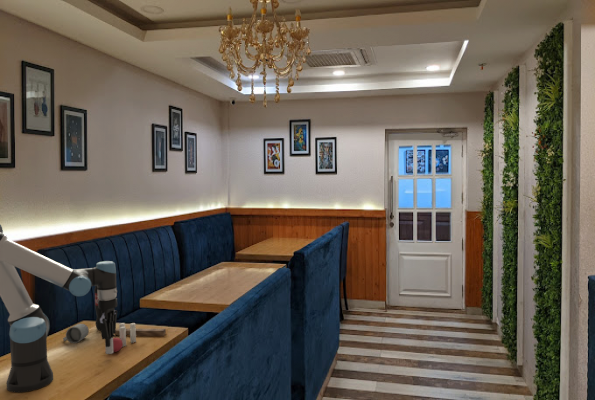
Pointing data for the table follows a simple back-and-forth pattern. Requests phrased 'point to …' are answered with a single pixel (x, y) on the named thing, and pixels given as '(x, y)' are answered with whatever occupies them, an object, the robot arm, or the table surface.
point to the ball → (117, 344)
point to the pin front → (123, 335)
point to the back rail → (145, 332)
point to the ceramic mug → (76, 333)
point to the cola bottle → (97, 309)
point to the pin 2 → (132, 332)
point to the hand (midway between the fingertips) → (109, 353)
